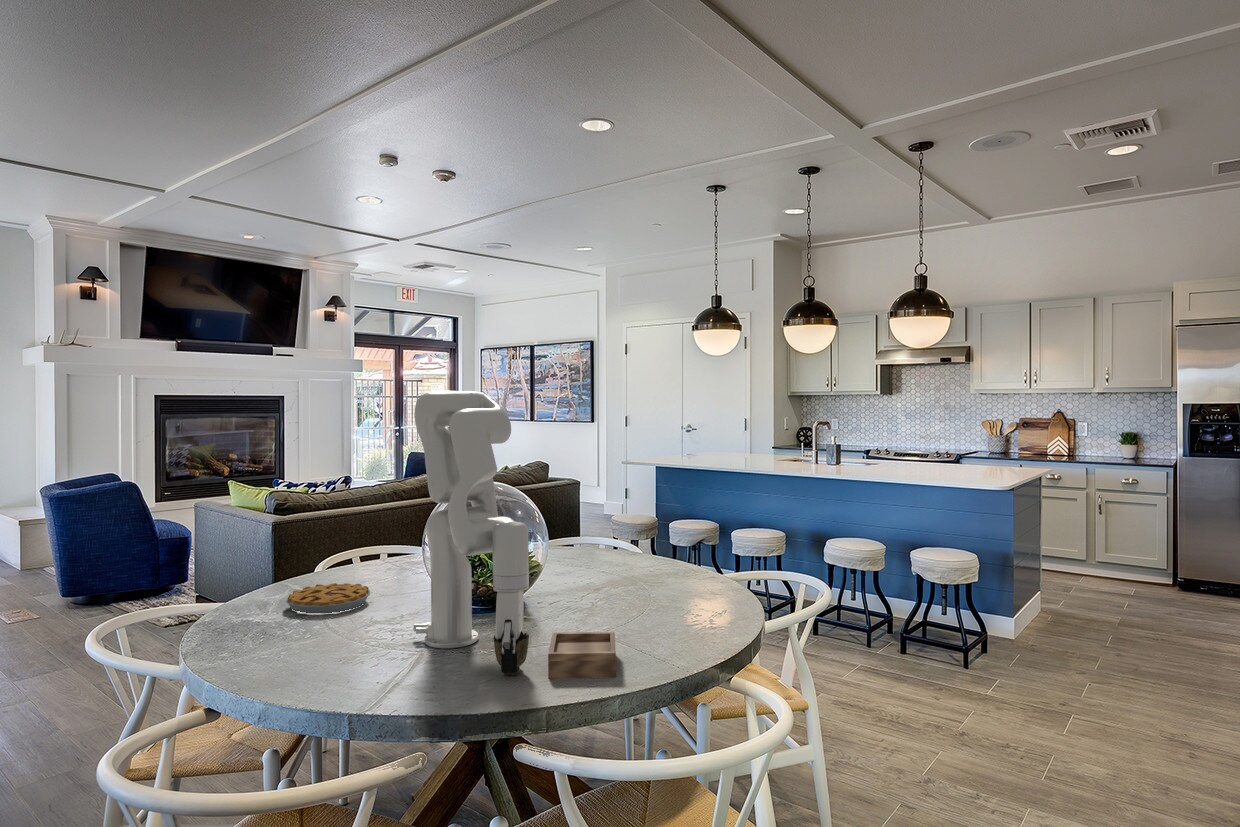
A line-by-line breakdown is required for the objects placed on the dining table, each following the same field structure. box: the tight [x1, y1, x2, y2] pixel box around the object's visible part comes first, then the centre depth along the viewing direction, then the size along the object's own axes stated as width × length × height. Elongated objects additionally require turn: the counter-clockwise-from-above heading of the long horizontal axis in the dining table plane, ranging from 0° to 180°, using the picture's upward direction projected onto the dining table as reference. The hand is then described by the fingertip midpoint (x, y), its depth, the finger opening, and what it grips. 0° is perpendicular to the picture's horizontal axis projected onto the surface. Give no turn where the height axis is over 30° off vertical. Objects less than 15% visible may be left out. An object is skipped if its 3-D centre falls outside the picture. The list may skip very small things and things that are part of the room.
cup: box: [493, 631, 530, 676], centre depth 155 cm, size 8×7×8 cm
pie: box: [285, 582, 371, 613], centre depth 208 cm, size 22×22×5 cm
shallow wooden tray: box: [547, 631, 617, 679], centre depth 159 cm, size 14×14×6 cm
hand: (511, 665), depth 155 cm, fingers closed on cup, 6 cm apart
